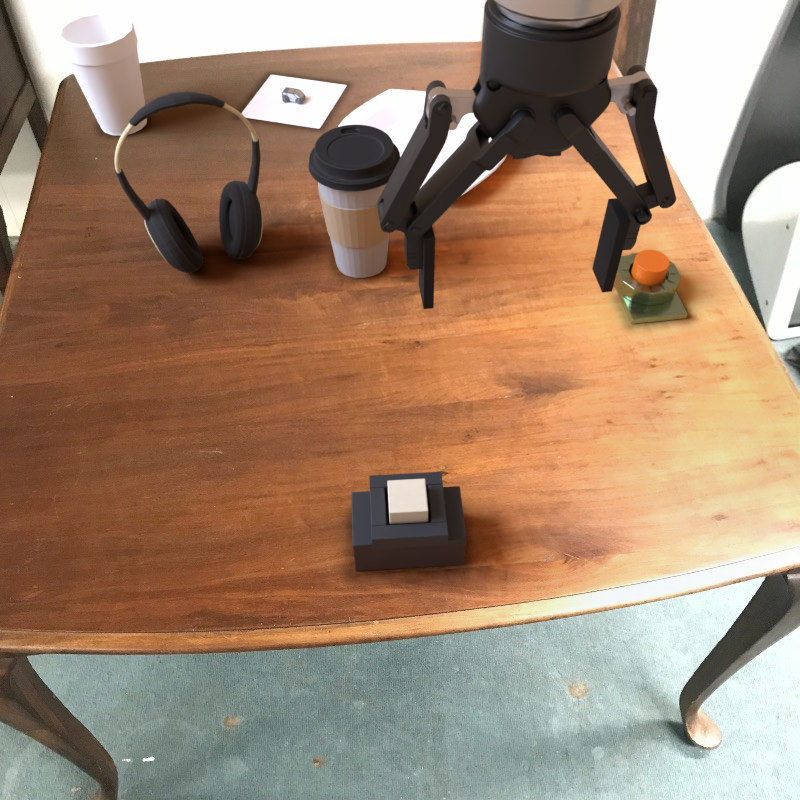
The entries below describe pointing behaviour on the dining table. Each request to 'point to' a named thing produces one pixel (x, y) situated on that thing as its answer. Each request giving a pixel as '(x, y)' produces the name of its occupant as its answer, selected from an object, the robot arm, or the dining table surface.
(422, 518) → the key
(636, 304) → the switch block
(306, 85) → the white square card
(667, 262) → the round orange push button
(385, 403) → the dining table surface
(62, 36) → the foam cup
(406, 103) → the plate
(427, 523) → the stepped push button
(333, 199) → the coffee cup
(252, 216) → the headphones
